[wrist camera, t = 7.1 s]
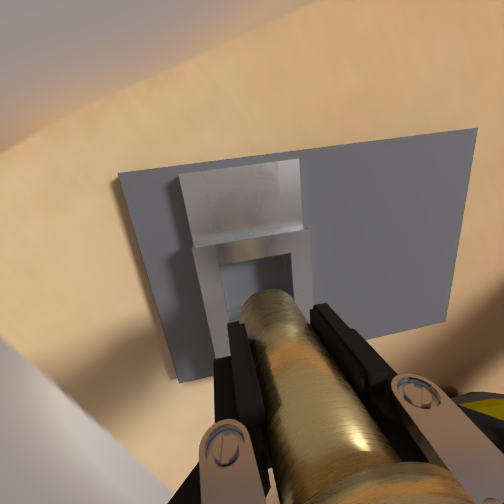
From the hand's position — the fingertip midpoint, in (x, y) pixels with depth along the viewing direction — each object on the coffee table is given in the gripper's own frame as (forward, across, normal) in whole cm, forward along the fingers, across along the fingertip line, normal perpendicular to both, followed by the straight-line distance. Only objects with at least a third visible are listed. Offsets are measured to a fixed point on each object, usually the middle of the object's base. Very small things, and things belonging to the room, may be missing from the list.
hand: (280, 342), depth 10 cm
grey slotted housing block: (+7, 0, 0) cm, 7 cm away
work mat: (+8, -5, 0) cm, 10 cm away
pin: (+2, 0, 0) cm, 2 cm away
